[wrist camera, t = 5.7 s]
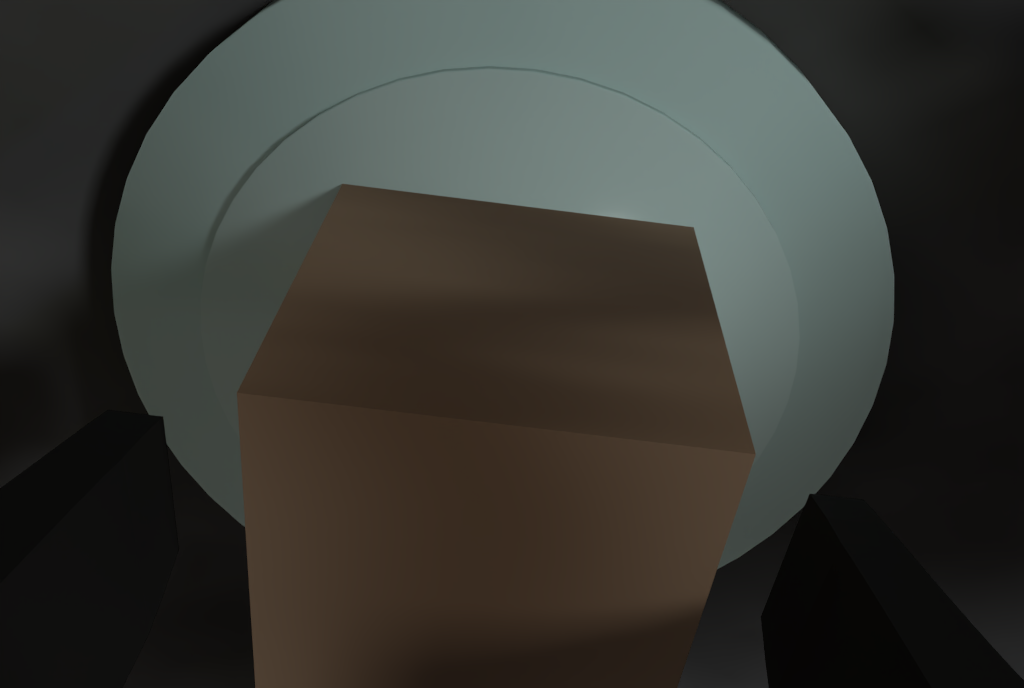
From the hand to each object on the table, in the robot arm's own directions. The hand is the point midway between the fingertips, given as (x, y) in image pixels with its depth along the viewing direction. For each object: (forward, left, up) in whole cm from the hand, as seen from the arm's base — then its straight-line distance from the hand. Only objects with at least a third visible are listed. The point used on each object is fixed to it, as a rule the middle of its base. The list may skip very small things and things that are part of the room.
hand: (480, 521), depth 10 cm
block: (0, 0, -3) cm, 3 cm away
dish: (0, 0, -4) cm, 4 cm away
